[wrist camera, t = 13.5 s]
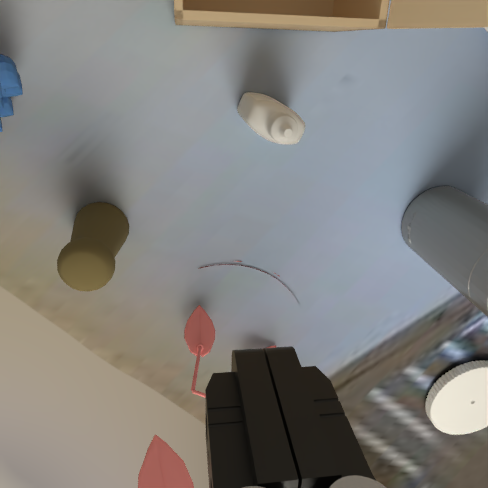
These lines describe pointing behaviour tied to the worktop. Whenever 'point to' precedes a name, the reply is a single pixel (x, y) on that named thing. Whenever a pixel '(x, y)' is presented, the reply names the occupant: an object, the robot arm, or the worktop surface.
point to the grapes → (8, 86)
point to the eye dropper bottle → (271, 118)
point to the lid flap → (438, 14)
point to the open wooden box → (284, 14)
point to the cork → (93, 247)
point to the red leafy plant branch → (200, 343)
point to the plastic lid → (460, 399)
